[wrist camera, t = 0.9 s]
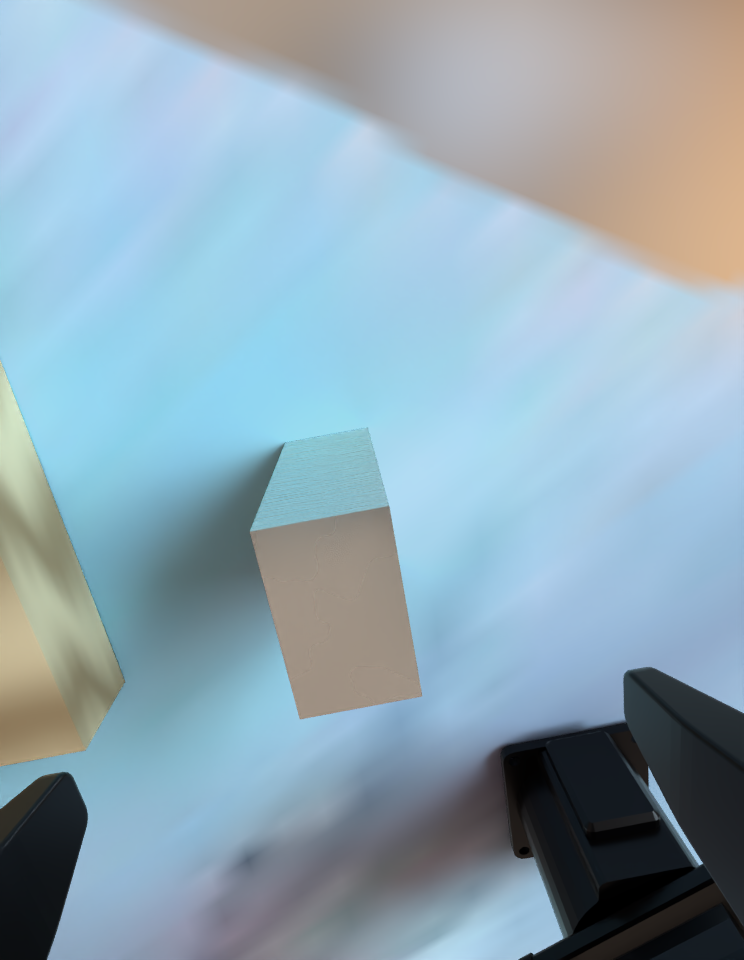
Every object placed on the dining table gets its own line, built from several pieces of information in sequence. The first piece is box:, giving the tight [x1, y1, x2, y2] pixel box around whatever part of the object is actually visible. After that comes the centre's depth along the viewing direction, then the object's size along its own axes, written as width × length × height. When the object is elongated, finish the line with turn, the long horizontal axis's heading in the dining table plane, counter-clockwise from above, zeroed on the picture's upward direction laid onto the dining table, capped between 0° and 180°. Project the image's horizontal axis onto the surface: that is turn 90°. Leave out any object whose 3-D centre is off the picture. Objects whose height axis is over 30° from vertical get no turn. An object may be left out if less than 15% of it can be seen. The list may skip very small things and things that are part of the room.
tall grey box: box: [250, 427, 422, 719], centre depth 16 cm, size 5×3×8 cm, turn 10°
